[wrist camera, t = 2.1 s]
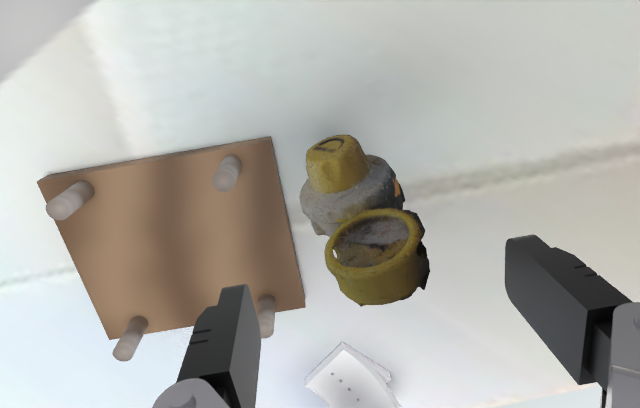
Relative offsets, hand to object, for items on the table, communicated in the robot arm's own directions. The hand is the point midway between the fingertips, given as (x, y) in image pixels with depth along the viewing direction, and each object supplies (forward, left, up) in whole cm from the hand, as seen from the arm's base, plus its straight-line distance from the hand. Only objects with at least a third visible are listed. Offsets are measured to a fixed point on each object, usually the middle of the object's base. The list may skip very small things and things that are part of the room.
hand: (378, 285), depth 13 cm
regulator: (0, 0, -15) cm, 15 cm away
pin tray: (+11, +4, -14) cm, 19 cm away
